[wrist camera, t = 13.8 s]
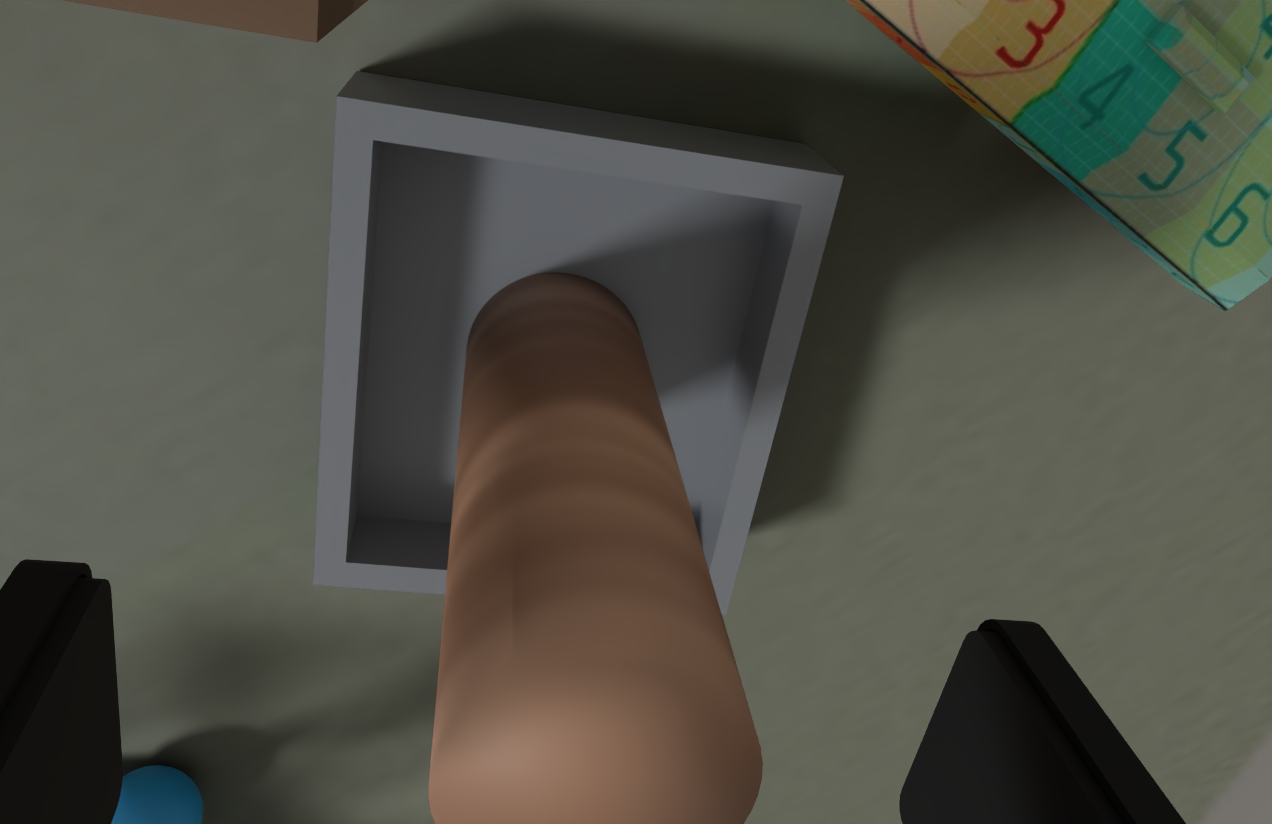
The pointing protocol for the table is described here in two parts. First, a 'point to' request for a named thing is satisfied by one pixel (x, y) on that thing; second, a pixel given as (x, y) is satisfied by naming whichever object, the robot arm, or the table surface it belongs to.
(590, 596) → the dowel
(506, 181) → the tray
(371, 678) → the table surface
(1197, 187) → the puzzle game
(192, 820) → the molecular structure
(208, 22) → the pin cup
